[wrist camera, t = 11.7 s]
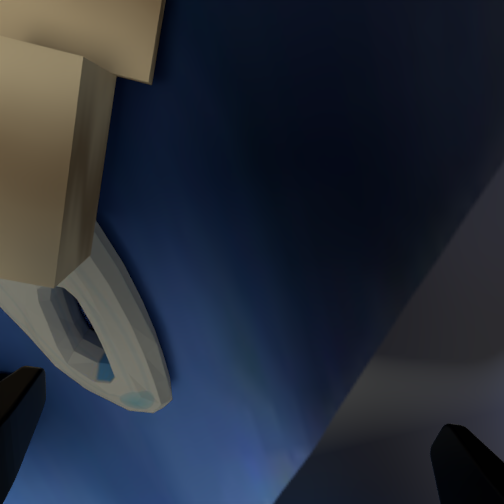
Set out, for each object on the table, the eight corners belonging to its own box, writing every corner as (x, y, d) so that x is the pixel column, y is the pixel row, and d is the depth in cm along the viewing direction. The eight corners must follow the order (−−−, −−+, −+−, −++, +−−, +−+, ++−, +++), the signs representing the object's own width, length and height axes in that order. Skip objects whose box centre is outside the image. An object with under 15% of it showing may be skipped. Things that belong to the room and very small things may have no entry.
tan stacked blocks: (122, 261, 18) (95, 296, 14) (-21, 233, 17) (-91, 261, 13) (187, -132, 14) (175, -231, 10) (13, -188, 14) (-69, -315, 10)
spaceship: (224, 355, 25) (220, 418, 21) (135, 398, 26) (116, 464, 23) (-135, -65, 15) (-267, -94, 11) (-238, 42, 17) (-384, 49, 13)
